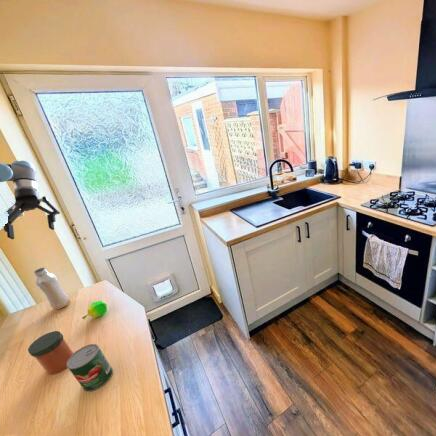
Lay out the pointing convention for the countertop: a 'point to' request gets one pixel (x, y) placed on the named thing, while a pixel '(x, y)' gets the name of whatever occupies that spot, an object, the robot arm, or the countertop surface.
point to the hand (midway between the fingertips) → (31, 233)
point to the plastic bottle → (51, 288)
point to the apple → (96, 309)
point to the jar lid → (45, 344)
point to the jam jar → (56, 358)
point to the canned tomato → (90, 367)
